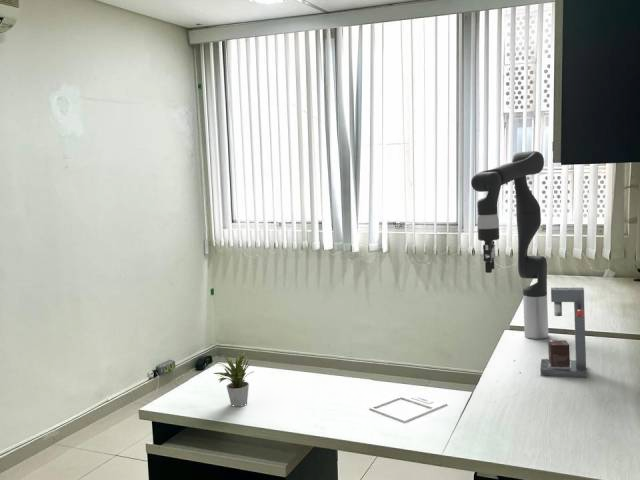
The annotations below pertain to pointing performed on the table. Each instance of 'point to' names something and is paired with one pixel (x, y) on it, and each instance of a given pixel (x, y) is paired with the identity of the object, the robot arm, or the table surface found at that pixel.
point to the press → (578, 365)
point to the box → (559, 353)
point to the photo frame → (415, 399)
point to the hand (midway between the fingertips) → (490, 270)
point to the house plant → (236, 381)
